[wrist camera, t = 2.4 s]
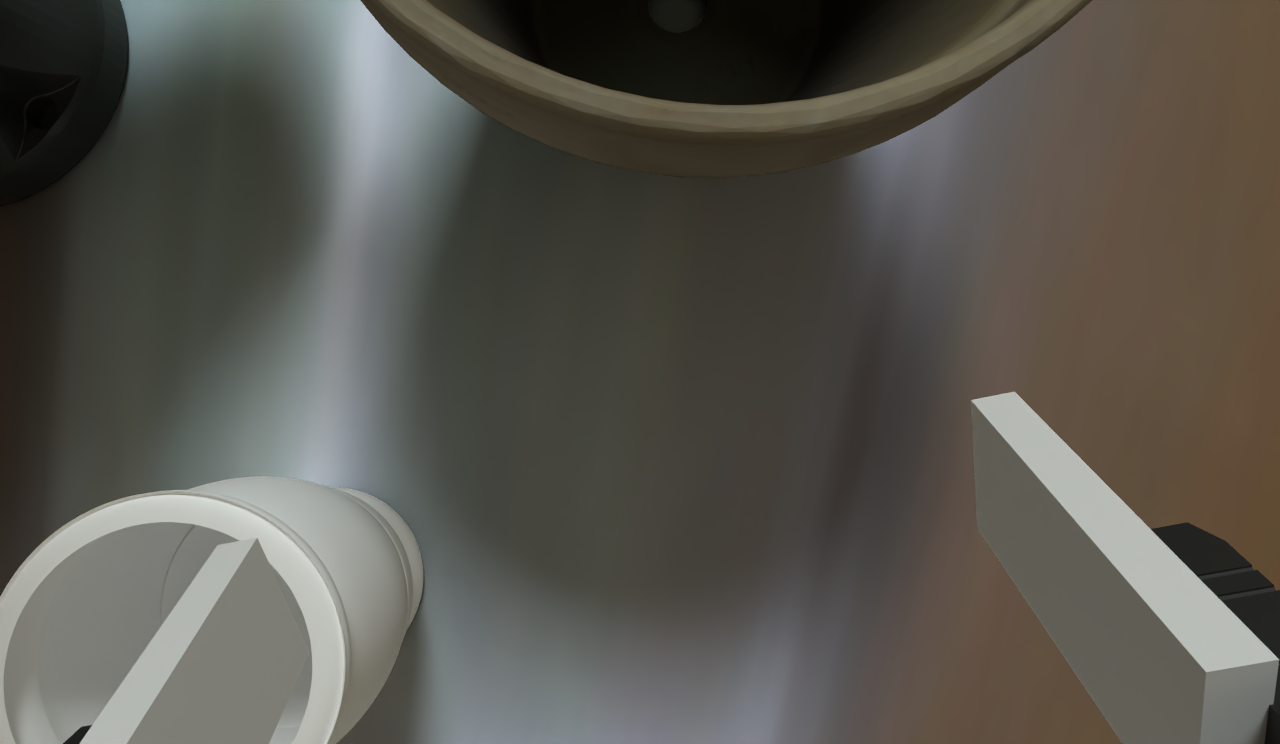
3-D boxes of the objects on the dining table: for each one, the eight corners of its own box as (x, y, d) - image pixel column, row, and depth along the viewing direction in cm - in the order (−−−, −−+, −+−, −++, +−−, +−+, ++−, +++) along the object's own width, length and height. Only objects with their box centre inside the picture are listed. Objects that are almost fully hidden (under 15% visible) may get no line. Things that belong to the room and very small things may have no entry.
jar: (371, 420, 40) (224, 420, 25) (491, 610, 40) (413, 725, 25) (172, 546, 40) (-98, 622, 25) (291, 740, 39) (90, 936, 24)
